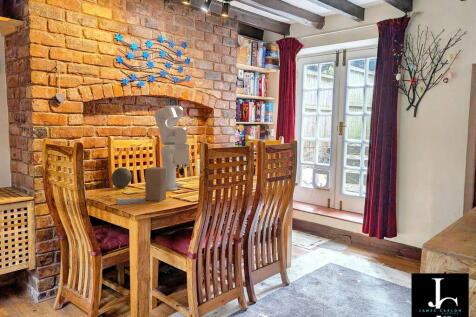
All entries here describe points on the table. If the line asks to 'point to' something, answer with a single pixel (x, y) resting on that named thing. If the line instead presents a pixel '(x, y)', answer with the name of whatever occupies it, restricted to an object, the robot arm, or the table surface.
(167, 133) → the robot arm
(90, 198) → the table surface
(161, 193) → the wooden block
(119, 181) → the dark grey ball
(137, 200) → the mat
